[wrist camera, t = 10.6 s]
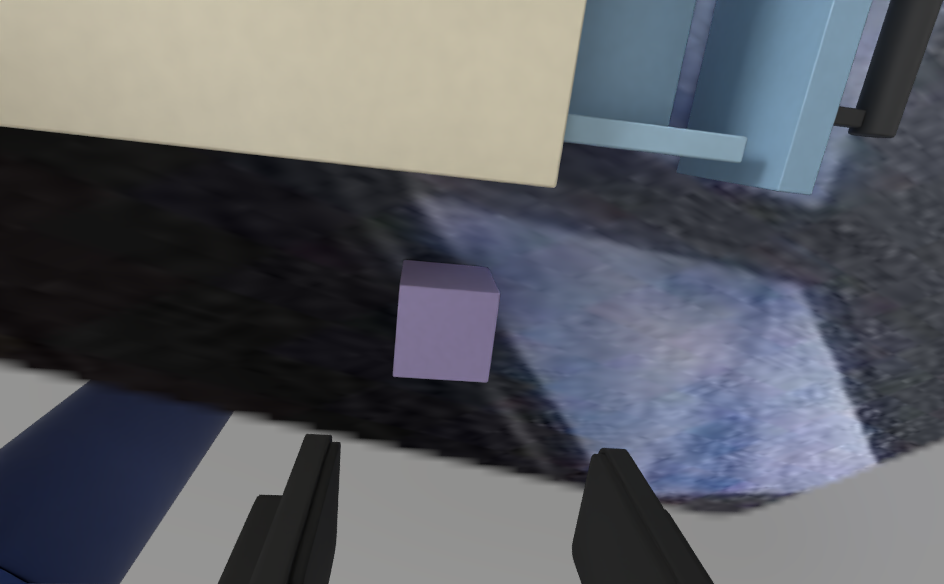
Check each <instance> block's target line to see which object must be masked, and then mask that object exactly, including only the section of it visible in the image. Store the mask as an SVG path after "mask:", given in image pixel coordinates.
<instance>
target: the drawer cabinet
mask: <svg viewBox="0 0 944 584" xmlns="http://www.w3.org/2000/svg"><path fill="white" fill-rule="evenodd" d="M586 3H587V0H0V126H3V127H12V128H21V129H30V130H39V131H48V132H57V133H66V134H74V135H83V136H92V137H101V138H110V139H119V140H128V141H137V142H146V143H155V144H164V145H173V146H182V147H191V148H200V149H209V150H218V151H226V152H235V153H244V154H253V155H262V156H271V157H280V158H289V159H298V160H307V161H316V162H325V163H334V164H343V165H352V166H361V167H370V168H378V169H387V170H396V171H405V172H414V173H423V174H432V175H441V176H450V177H459V178H468V179H477V180H486V181H495V182H504V183H513V184H522V185H530V186H539V187H548V188H554V187H556V185H557V179H558V173H559V167H560V161H561V154H562V148H563V142H564V136H565V130H566V124H567V118H568V112H569V106H570V100H571V94H572V88H573V82H574V76H575V70H576V63H577V57H578V51H579V45H580V39H581V33H582V27H583V21H584V15H585V9H586Z"/></svg>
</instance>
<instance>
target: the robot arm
mask: <svg viewBox="0 0 944 584" xmlns="http://www.w3.org/2000/svg"><path fill="white" fill-rule="evenodd" d="M340 448H341V444H340V442H332V436H331V435H317V434H306V435H305V437H304V440H303V443H302V445H301V448H300V451H299V453H298V456H297V458H296V461H295V464H294V466H293V469H292V472H291V475H290V477H289V480H288V482H287V485H286V487H285V490H284V493H283V495H259V496H258V497H257V498H256V500H255V502H254V504H253V506H252V509H251V511H250V513H249V515H248V518H247V520H246V522H245V524H244V526H243V529H242V531H241V533H240V535H239V537H238V540H237V542H236V544H235V546H234V549H233V551H232V553H231V555H230V558H229V560H228V562H227V564H226V567H225V569H224V572H223V573H222V575H221V578H220V580H219V582H218V584H328V583H329V578H330V574H331V568H332V563H333V559H334V554H335V546H336V536H337V535H336V534H337V514H338V513H337V512H338V493H339V492H338V491H339V471H340ZM572 555H573V560H574V563H575V566H576V569H577V572H578V575H579V577H580V580H581V583H582V584H714V583H713V581H712V580H711V578H710V577H709V575H708V573H707V572H706V570H705V569H704V567H703V566H702V564H701V562H700V561H699V560H698V558H697V556H696V555H695V553H694V551H693V550H692V548H691V547H690V545H689V544H688V542H687V541H686V539H685V537H684V536H683V534H682V533H681V531H680V530H679V528H678V526H677V525H676V523H675V522H674V520H673V519H672V517H671V515H670V514H669V513H668V512H667V511H666V510H665V509H664V508H663V506H662V505H661V503H660V502H659V500H658V498H657V497H656V495H655V494H654V492H653V490H652V489H651V487H650V486H649V484H648V483H647V481H646V479H645V478H644V476H643V475H642V473H641V471H640V470H639V468H638V467H637V465H636V464H635V462H634V460H633V459H632V457H631V456H630V454H629V452H628V451H627V450H625V449H614V448H602V449H600V451H599V453H598V454H593V455H592V457H591V461H590V466H589V470H588V475H587V479H586V484H585V488H584V493H583V497H582V502H581V507H580V511H579V516H578V520H577V525H576V529H575V534H574V538H573V543H572Z"/></svg>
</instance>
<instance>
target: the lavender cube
mask: <svg viewBox="0 0 944 584" xmlns="http://www.w3.org/2000/svg"><path fill="white" fill-rule="evenodd" d="M499 301H500V292H499V290H498V288H497V286H496V284H495V281H494V279H493V277H492V275H491V273H490V271H489V268H488V267H479V266H468V265H457V264H446V263H435V262H424V261H413V260H404V261H403V266H402V273H401V280H400V288H399V301H398V313H397V326H396V339H395V352H394V365H393V376H394V377H407V378H423V379H439V380H455V381H471V382H488V378H489V371H490V364H491V357H492V350H493V343H494V336H495V329H496V322H497V315H498V308H499Z"/></svg>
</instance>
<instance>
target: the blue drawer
mask: <svg viewBox="0 0 944 584" xmlns="http://www.w3.org/2000/svg"><path fill="white" fill-rule="evenodd" d="M872 1H873V0H717V1H716V6H715V10H714V14H713V18H712V23H711V27H710V31H709V36H708V40H707V44H706V48H705V53H704V57H703V61H702V66H701V70H700V74H699V78H698V83H697V87H696V91H695V96H694V100H693V104H692V108H691V113H690V117H689V121H688V126H687V129H683V128H675V127H668V126H669V121H670V117H671V112H672V108H673V103H674V99H675V95H676V90H677V86H678V81H679V77H680V72H681V68H682V63H683V59H684V54H685V50H686V45H687V41H688V36H689V32H690V27H691V23H692V18H693V14H694V9H695V5H696V0H587V3H586V9H585V15H584V21H583V27H582V33H581V39H580V45H579V51H578V57H577V63H576V70H575V76H574V82H573V88H572V94H571V100H570V106H569V112H568V118H567V124H566V130H565V136H564V142H567V143H575V144H583V145H591V146H599V147H607V148H615V149H623V150H631V151H640V152H648V153H656V154H664V155H673V156H680V160H679V164H678V168H677V173H681V174H686V175H692V176H697V177H702V178H708V179H713V180H719V181H724V182H730V183H735V184H741V185H746V186H751V187H757V188H762V189H768V190H773V191H779V192H788V193H796V194H805V195H811V194H812V191H813V188H814V185H815V181H816V178H817V175H818V172H819V169H820V166H821V162H822V159H823V156H824V153H825V150H826V147H827V143H828V140H829V137H830V134H831V131H832V127H833V126H840V127H847V128H849V130H848V134H850V135H855V136H863V137H875V138H893V137H894V136H895V135H896V132H897V129H898V126H899V124H900V121H901V118H902V115H903V112H904V109H905V107H906V104H907V101H908V98H909V95H910V92H911V90H912V87H913V84H914V81H915V78H916V75H917V72H918V70H919V67H920V64H921V61H922V58H923V55H924V53H925V50H926V47H927V44H928V41H929V38H930V36H931V33H932V30H933V27H934V24H935V21H936V19H937V16H938V13H939V10H940V7H941V4H942V1H943V0H891V1H890V4H889V7H888V10H887V13H886V16H885V19H884V22H883V25H882V28H881V32H880V35H879V38H878V41H877V44H876V47H875V50H874V53H873V56H872V59H871V62H870V65H869V69H868V72H867V75H866V78H865V81H864V84H863V87H862V90H861V93H860V96H859V99H858V102H857V105H856V109H855V108H848V107H841V106H839V105H840V102H841V99H842V96H843V93H844V89H845V86H846V83H847V80H848V77H849V74H850V70H851V67H852V64H853V61H854V58H855V55H856V51H857V48H858V45H859V42H860V39H861V35H862V32H863V29H864V26H865V23H866V20H867V16H868V13H869V10H870V7H871V4H872Z"/></svg>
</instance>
